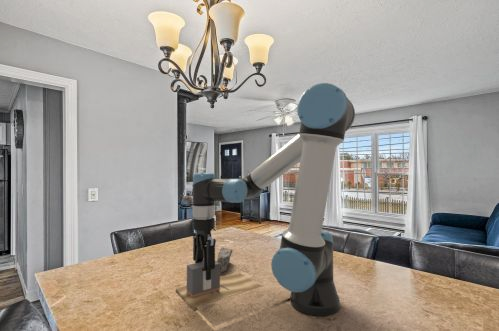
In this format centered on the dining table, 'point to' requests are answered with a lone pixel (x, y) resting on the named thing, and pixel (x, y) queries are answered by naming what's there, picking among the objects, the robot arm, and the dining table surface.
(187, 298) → the board
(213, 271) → the block
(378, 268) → the dining table surface
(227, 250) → the rock
